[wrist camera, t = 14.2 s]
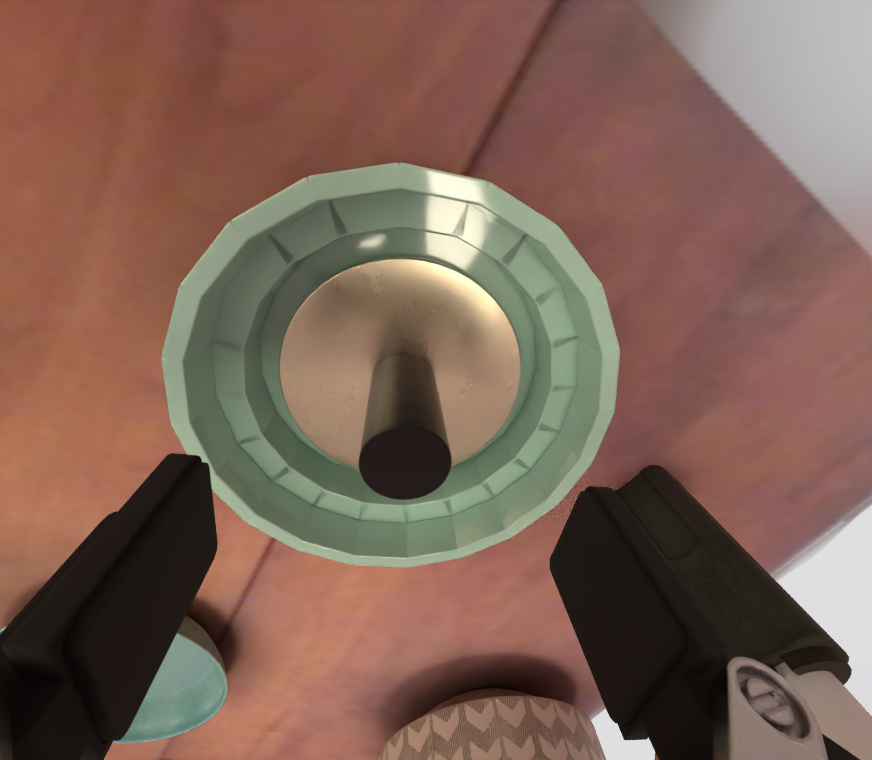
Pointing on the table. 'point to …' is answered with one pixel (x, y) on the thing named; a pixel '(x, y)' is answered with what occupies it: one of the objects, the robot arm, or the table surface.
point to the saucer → (181, 688)
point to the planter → (496, 730)
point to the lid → (400, 371)
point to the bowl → (320, 259)
